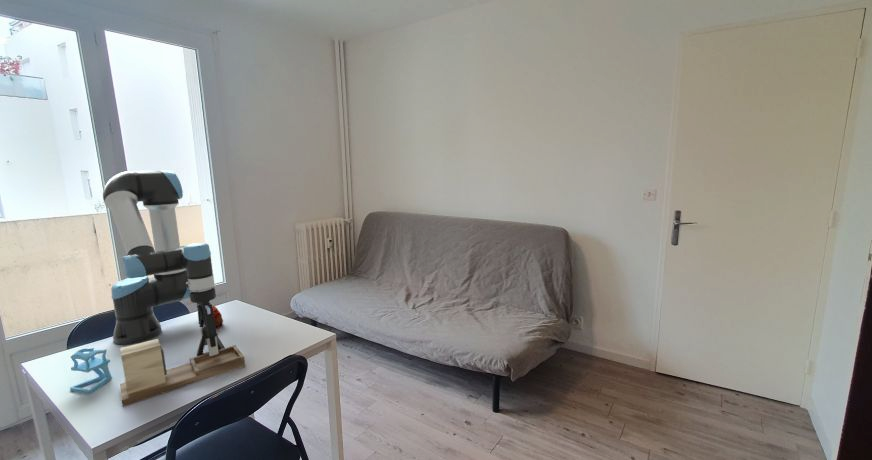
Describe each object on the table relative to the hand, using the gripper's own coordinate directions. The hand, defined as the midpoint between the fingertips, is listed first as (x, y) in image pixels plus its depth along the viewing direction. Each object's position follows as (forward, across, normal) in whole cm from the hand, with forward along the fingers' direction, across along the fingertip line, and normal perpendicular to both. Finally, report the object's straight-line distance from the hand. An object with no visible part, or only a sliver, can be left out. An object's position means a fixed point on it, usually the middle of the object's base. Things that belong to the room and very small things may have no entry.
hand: (210, 349), depth 134 cm
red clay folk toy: (+2, -28, +6) cm, 28 cm away
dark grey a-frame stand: (+3, -1, 0) cm, 3 cm away
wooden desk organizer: (+3, +10, -9) cm, 13 cm away
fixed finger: (+1, +10, -19) cm, 21 cm away
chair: (+3, -5, -31) cm, 32 cm away
